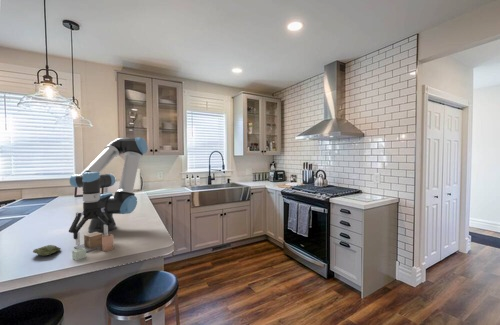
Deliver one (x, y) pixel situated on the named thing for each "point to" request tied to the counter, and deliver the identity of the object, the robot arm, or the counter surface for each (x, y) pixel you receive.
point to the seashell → (46, 250)
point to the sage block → (79, 253)
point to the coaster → (88, 248)
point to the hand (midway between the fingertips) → (92, 240)
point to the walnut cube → (93, 239)
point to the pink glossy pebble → (107, 242)
